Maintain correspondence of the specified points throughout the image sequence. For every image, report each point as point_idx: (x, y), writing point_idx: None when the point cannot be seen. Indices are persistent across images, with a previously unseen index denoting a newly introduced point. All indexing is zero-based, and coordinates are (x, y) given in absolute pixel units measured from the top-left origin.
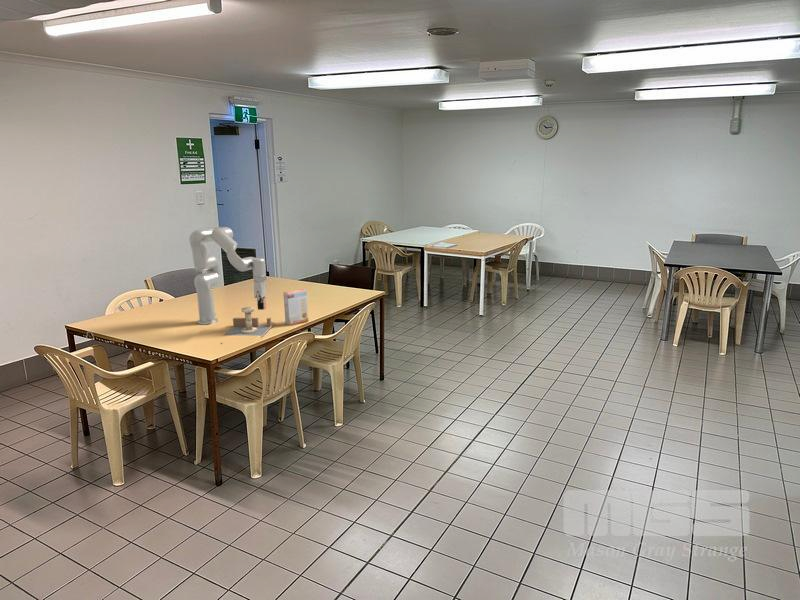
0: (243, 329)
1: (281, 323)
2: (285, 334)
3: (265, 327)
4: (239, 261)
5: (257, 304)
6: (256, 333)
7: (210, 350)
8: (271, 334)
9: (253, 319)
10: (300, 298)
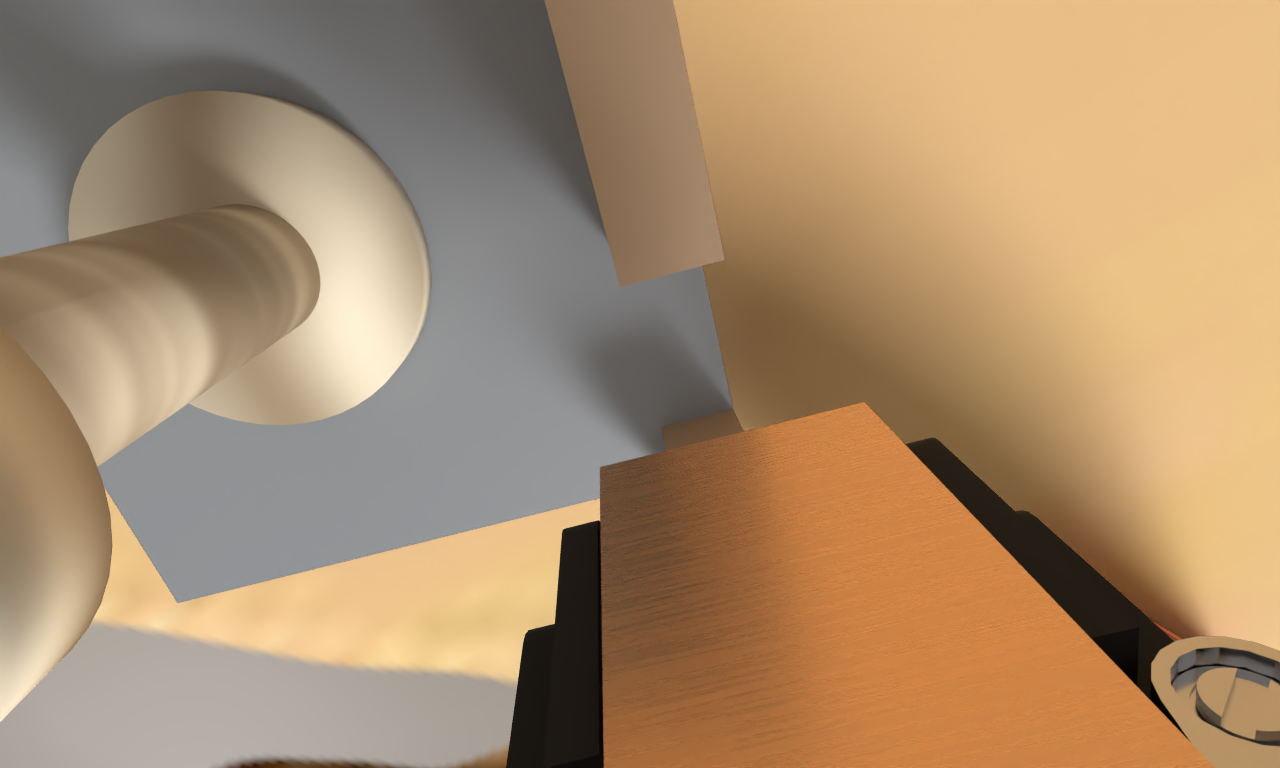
0: (175, 149)
1: (1023, 456)
2: (496, 756)
3: (610, 422)
4: None
5: (603, 629)
6: (220, 468)
7: None
8: (419, 605)
9: (595, 185)
10: None
